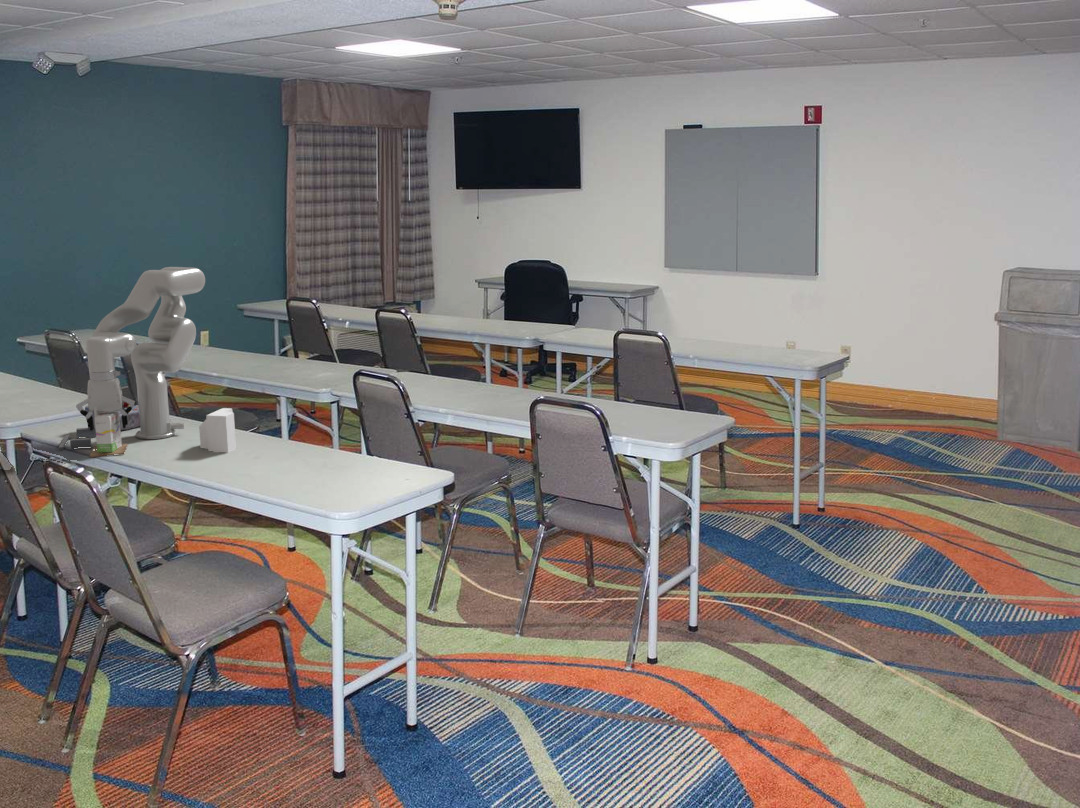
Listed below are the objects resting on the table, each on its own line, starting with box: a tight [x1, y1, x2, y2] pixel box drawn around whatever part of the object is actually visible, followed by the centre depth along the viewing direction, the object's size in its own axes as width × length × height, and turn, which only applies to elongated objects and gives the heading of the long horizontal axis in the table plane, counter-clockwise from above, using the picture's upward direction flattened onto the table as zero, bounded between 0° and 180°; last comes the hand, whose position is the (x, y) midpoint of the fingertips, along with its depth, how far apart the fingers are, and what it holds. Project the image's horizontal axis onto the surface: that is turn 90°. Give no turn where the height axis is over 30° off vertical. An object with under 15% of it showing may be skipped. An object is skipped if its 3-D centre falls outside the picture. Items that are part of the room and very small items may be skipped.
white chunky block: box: [198, 407, 237, 454], centre depth 339 cm, size 11×11×12 cm
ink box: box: [94, 406, 123, 452], centre depth 335 cm, size 9×5×15 cm, turn 1°
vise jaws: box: [57, 427, 96, 451], centre depth 346 cm, size 10×17×3 cm, turn 16°
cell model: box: [84, 401, 140, 432], centre depth 365 cm, size 13×11×20 cm
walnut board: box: [89, 443, 128, 458], centre depth 336 cm, size 10×12×1 cm
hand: (108, 428), depth 335 cm, fingers open, 9 cm apart
